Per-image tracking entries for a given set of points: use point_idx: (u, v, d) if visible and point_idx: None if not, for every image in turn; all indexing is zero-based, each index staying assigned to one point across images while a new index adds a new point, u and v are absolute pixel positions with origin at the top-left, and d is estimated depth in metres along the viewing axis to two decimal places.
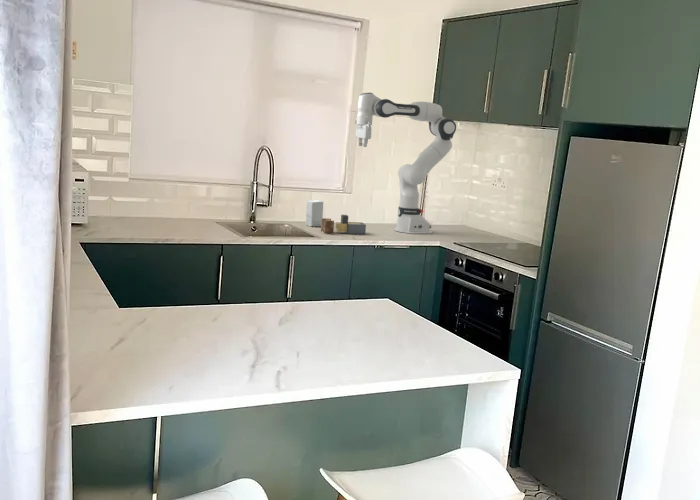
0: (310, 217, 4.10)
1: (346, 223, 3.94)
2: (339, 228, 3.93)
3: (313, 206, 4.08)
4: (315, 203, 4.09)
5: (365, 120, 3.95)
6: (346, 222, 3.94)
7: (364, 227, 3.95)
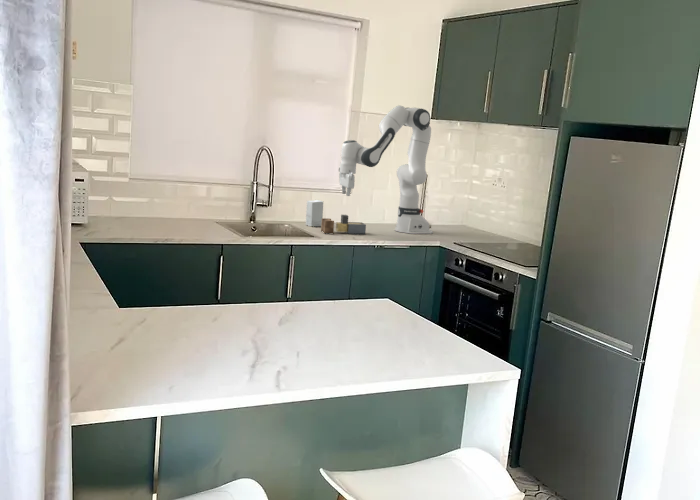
0: (310, 217, 4.10)
1: (346, 223, 3.94)
2: (339, 228, 3.93)
3: (313, 206, 4.08)
4: (315, 203, 4.09)
5: (348, 169, 3.86)
6: (346, 222, 3.94)
7: (364, 227, 3.95)
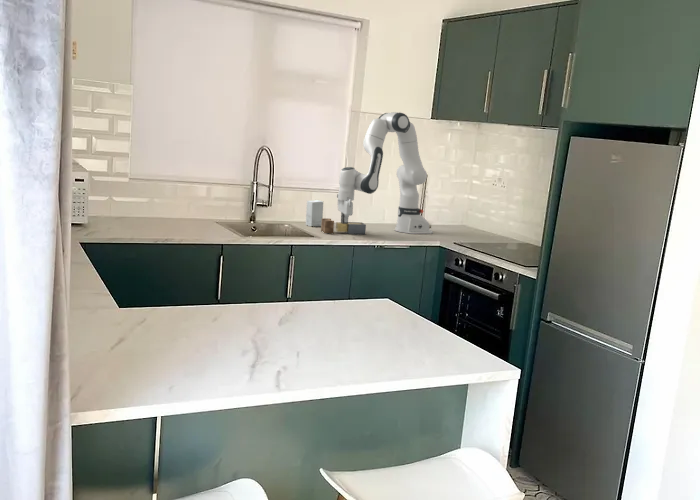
0: (310, 217, 4.10)
1: (346, 223, 3.94)
2: (339, 228, 3.93)
3: (313, 206, 4.08)
4: (315, 203, 4.09)
5: (346, 196, 3.89)
6: (346, 222, 3.94)
7: (364, 227, 3.95)
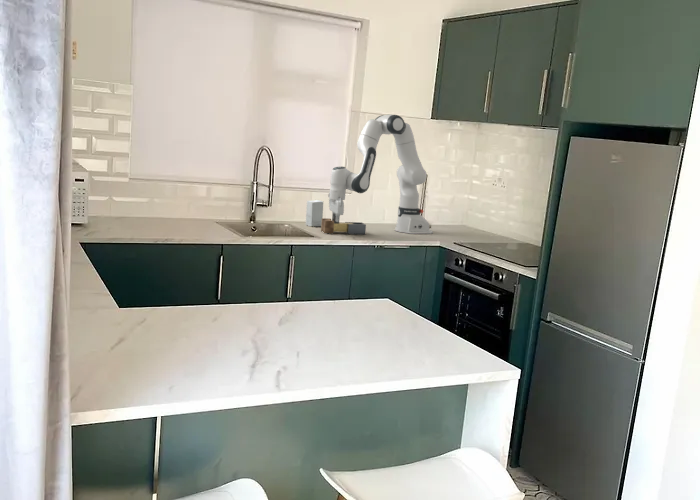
0: (310, 217, 4.10)
1: (337, 223, 3.93)
2: None
3: (313, 206, 4.08)
4: (315, 203, 4.09)
5: (338, 195, 3.87)
6: (337, 222, 3.92)
7: (364, 227, 3.95)
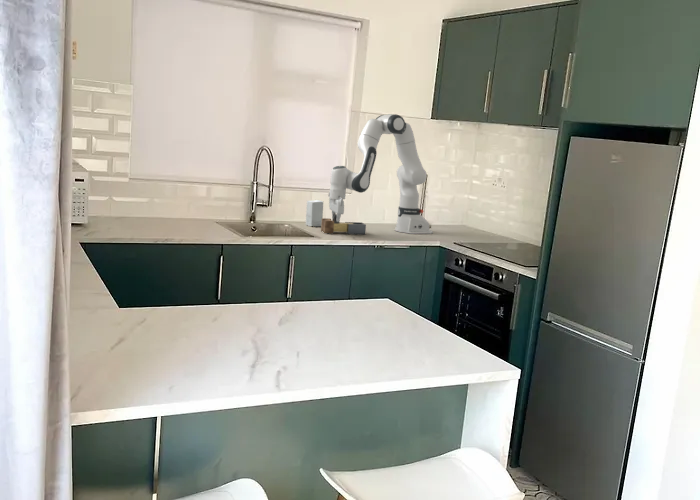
0: (310, 217, 4.10)
1: (338, 223, 3.93)
2: None
3: (313, 206, 4.08)
4: (315, 203, 4.09)
5: (338, 194, 3.87)
6: (338, 222, 3.92)
7: (364, 227, 3.95)
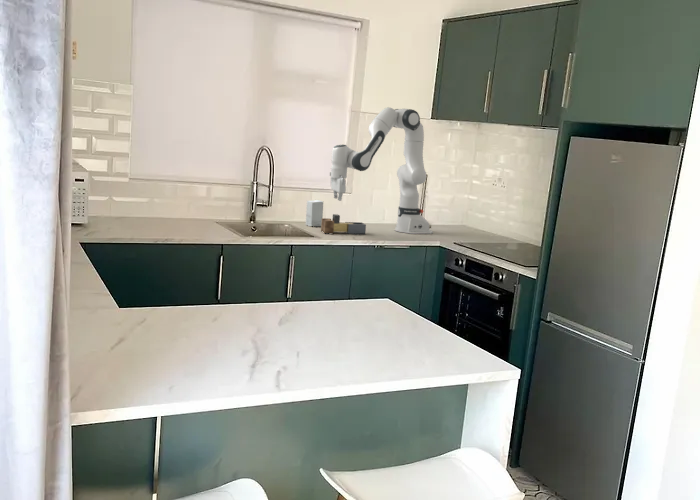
0: (310, 217, 4.10)
1: (338, 223, 3.93)
2: None
3: (313, 206, 4.08)
4: (315, 203, 4.09)
5: (339, 173, 3.85)
6: (338, 222, 3.92)
7: (364, 227, 3.95)
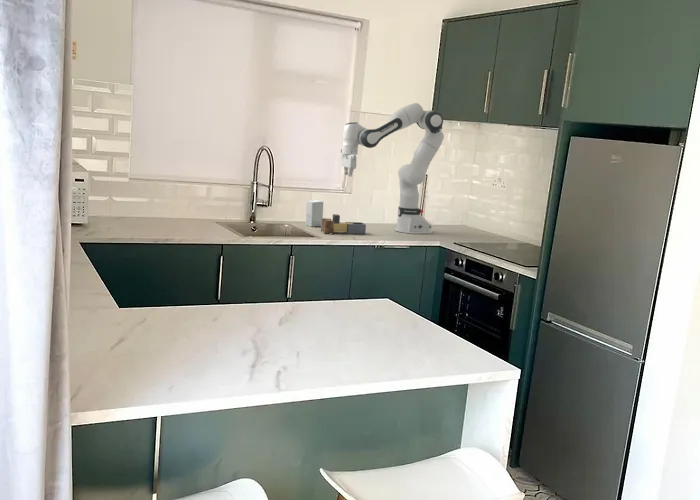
0: (310, 217, 4.10)
1: (338, 223, 3.93)
2: None
3: (313, 206, 4.08)
4: (315, 203, 4.09)
5: (350, 150, 3.96)
6: (338, 222, 3.92)
7: (364, 227, 3.95)
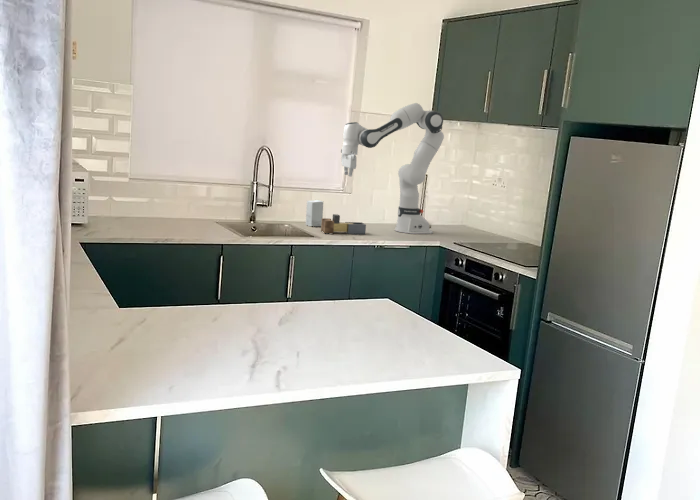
0: (310, 217, 4.10)
1: (338, 223, 3.93)
2: None
3: (313, 206, 4.08)
4: (315, 203, 4.09)
5: (350, 150, 3.96)
6: (338, 222, 3.92)
7: (364, 227, 3.95)
